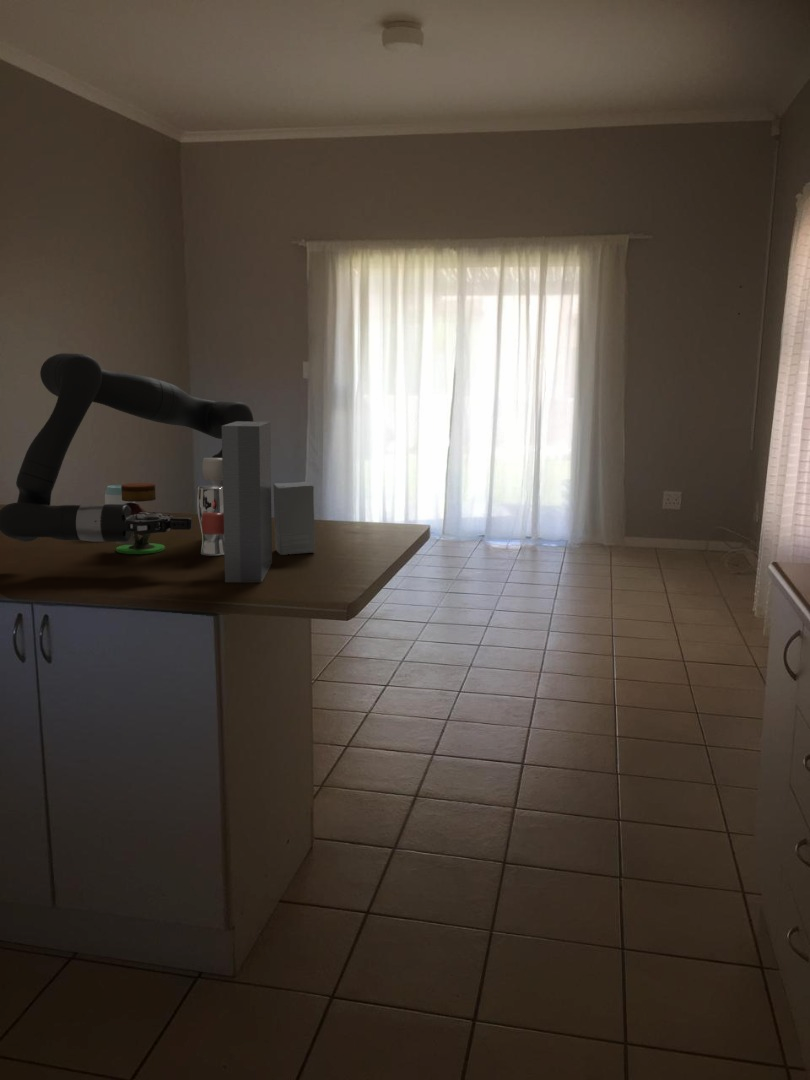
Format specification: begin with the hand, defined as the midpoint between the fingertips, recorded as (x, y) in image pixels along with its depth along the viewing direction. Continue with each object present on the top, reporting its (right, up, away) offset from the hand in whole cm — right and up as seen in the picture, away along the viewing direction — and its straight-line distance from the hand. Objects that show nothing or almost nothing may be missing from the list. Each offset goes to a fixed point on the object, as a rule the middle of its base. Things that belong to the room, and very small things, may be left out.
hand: (191, 523), depth 178 cm
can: (-28, -2, +45) cm, 53 cm away
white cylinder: (+5, +9, -1) cm, 10 cm away
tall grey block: (+11, -10, +2) cm, 15 cm away
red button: (+5, -2, +1) cm, 5 cm away
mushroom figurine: (-18, -6, +24) cm, 30 cm away
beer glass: (0, -6, +21) cm, 22 cm away
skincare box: (+18, -6, +24) cm, 30 cm away
